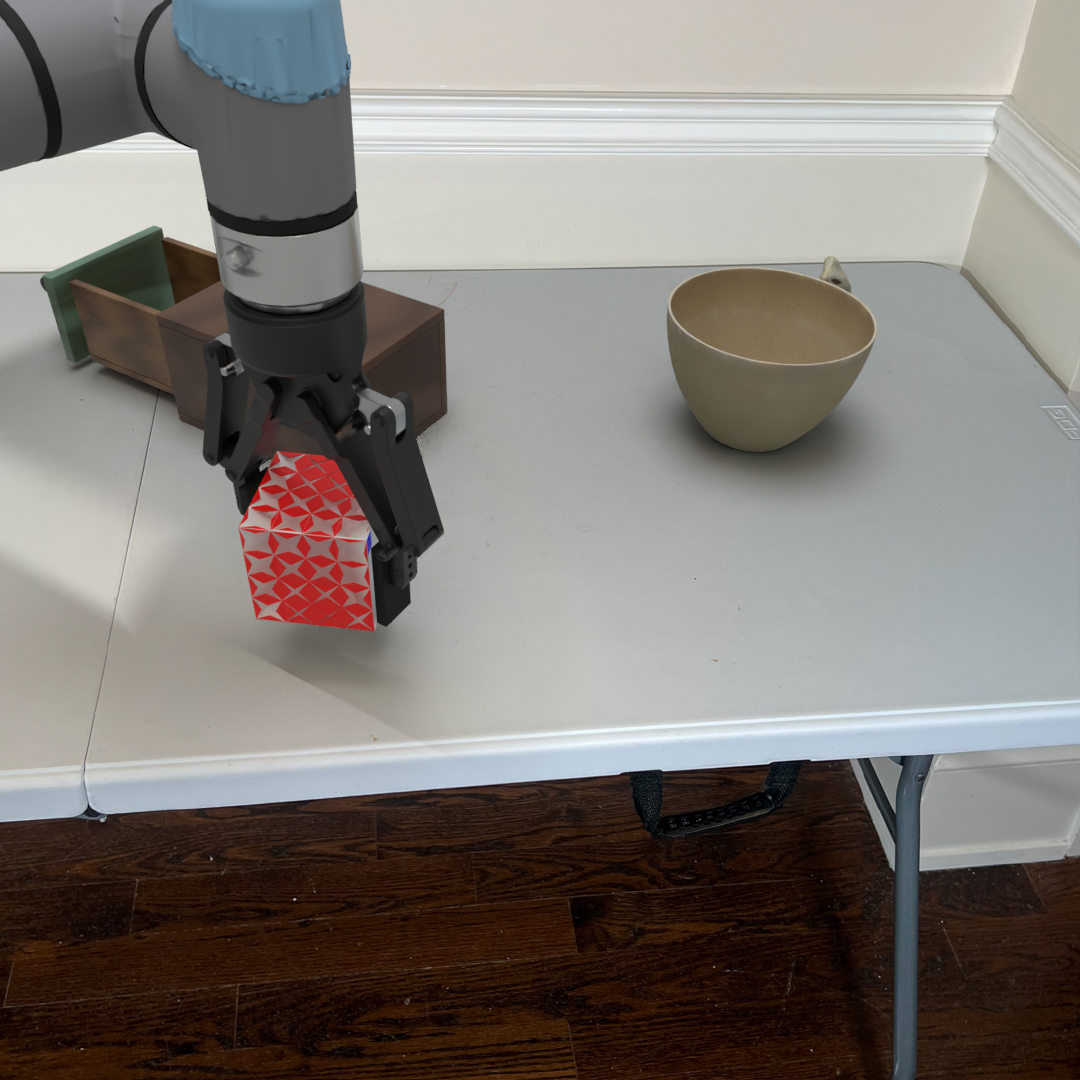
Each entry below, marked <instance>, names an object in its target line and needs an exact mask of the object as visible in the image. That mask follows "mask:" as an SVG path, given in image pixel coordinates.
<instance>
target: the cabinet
mask: <svg viewBox="0 0 1080 1080" xmlns="http://www.w3.org/2000/svg"><path fill="white" fill-rule="evenodd" d="M361 282H362V284H363V286H364V291H365V305H366V318H367V332H368V338H367V344H366V347H365V351H364V355H363V360H362V367H363V371H364V373H365V376H366V378H367V380H368V382H369V384H370V388H371V390H373V391H376V392H378V393H380V394H382V395H384V396H387V397H389V398H393V397H394V396H395V395H397V394H398V393H400V392H404V393H406V394H408V395H409V396H410V397H411V399H412V401H413V404H414V426H413V430H414V433H415V436H416V438H417V437H418V436H420V435H421V434H422V433H423V432H425V431H426V430H427V429H428V428H429V427H431V426H432V425H433V424H435V422H437V421H438V420H439V419H440V418H441V417H443V416H444V415H445V414H447V413H448V390H447V389H448V388H447V387H448V384H447V383H448V382H447V352H446V351H447V350H446V347H447V346H446V321H445V319H446V318H445V309H444V308H442V307H439V306H436V305H433V304H430V303H426V302H425V301H424V302H423V301H421V300H418V299H414V298H412V297H408V296H406V295H403V294H399V293H396V292H393V291H391V290H388V289H384V288H381V287H378V286H375V285H372V284H369V283H366V282H363V281H361ZM225 289H226V287H225V286H224V285H223V283H222V281H219V282H217V283H215V284H213V285H211V286H209V287H207V288H206V289H204V290H202V291H200V292H198V293H196V294H194V295H192V296H190V297H188V298H187V299H185V300H183V301H181V302H179V303H177V304H175V305H173V306H171V307H170V308H168V309H166V310H164V311H162V312H160V313H158V314H156V318H157V323H158V327H159V331H160V336H161V340H162V344H163V349H164V353H165V357H166V362H167V366H168V370H169V375H170V379H171V383H172V388H173V392H174V395H173V397H174V400H175V404H176V408H177V414H178V418H179V421H182V422H184V423H186V424H189V425H191V426H193V427H196V428H198V429H201V430H203V431H204V427H205V413H206V399H207V385H208V373H207V369H206V365H205V361H204V356H203V352H202V347H203V345H205V344H207V343H208V342H210V341H212V340H213V339H215V338H217V337H218V336H220V335H222V334H224V333H226V332H227V331H229V329H228V323H227V317H226V311H225V305H224V299H223V295H224V291H225ZM255 392H256V388H255V386H254V384H253V383H252V381H251V380H250V383H249V392H248V401H247V410H246V419H245V426H246V424H247V422H248V418H247V413H248V411H249V409H250V407H251V405H252V402H253V400H254V398H255V396H256V395H255ZM351 429H352V424H351V422H350V423H349V425H348V426H347V427H345V428H344V429H343V430H341V431H340V432H339V433H337V434H336V437H337V439H340V438H341V437H342V436H344V435H345V434H346V433H348V432H349V431H350V430H351ZM277 451H282V452H292V453H302V454H311V455H321V456H324V454H323V452H322V451H321V449H320V447H319V445H318V443H317V442H316V440H315V439H313V438H311V437H309V436H308V435H306V434H305V433H303V432H302V431H300V430H297V429H290V428H287V427H285V426H283V428H282V430H281V432H280V434H279V436H278V438H277V439H276V441H275V443H274V445H273V447H272V449H271V451H270V453H269V455H268V457H267V458H269V457H271V459H270V460H273V458H274V456H275V454H276V452H277Z"/></svg>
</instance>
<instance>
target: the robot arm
mask: <svg viewBox="0 0 1080 1080" xmlns="http://www.w3.org/2000/svg"><path fill="white" fill-rule="evenodd" d="M343 17H344V16H343V10H342V2H341V0H0V172H4V171H8V170H12V169H14V168H17V167H21V166H24V165H28V164H31V163H37V162H40V161H44V160H50V159H54V158H58V157H61V156H64V155H65V156H66V155H68V154H72V153H76V152H80V151H84V150H87V149H91V148H95V147H98V146H101V145H105V144H110V143H112V142H117V141H120V140H124V139H127V138H130V137H134V136H139V135H142V134H146V133H152V134H153V133H154V134H157V135H160V136H162V137H163V138H165V139H168V140H170V141H173V142H175V143H178V144H180V145H182V146H184V147H185V148H189V149H192V150H195V151H196V152H197V156H198V162H199V167H200V172H201V177H202V182H203V187H204V192H205V193H204V194H205V199H206V206H207V211H208V213H209V219H210V225H211V231H212V236H213V244H214V248H215V253H216V254H217V260H218V266H219V272H220V278H221V281H222V283H223V285H224V286H225V287H226V289H225V291H224V295H223V299H224V305H225V311H226V317H227V323H228V329H229V331H227V332H226V333H224V334H222V335H220V336H218V337H217V338H215V339H213V340H212V341H210V342H208V343H207V344H205V345H203V347H202V352H203V356H204V361H205V365H206V369H207V373H208V385H207V399H206V413H205V427H204V430H203V443H202V457H203V459H204V461H205V462H206V463H207V464H208V465H209V466H211V467H216V466H217V465H220V467H222V468H223V469H224V474H225V475H226V478H227V479H228V480H229V481H230V482H231V483H232V485H233V491H234V495H235V500H236V505H237V509H238V511H239V513H240V515H242V516H244V515H245V513H246V511H247V509H248V507H249V505H250V503H251V501H252V499H253V497H254V495H255V493H256V491H257V489H258V487H259V485H260V483H261V481H262V480H263V478H264V476H265V474H266V472H267V470H268V468H269V466H266V467H265V468H262V470H261V468H260V467H261V466H264V464H266V463H267V462H269V461H271V460H272V459H271V457H269V458H268V455H269V453H270V451H271V449H272V447H273V445H274V443H275V441H276V439H277V438H278V436H279V434H280V432H281V430H282V428H283V426H285V427H287V428H290V429H297V430H300V431H302V432H303V433H305V434H306V435H308V436H309V437H311V438H313V439H315V440H316V442H317V443H318V445H319V447H320V449H321V451H322V452H323V454H324V456H325V457H326V458H327V459H328V460H334V461H335V462H336V464H337V466H338V467H339V469H340V471H341V473H342V475H343V477H344V478H345V480H346V482H347V484H348V486H349V488H350V489H351V491H352V493H353V495H354V497H355V499H356V500H357V502H358V504H359V506H360V508H361V509H362V511H363V513H364V515H365V517H366V519H367V520H368V522H369V524H370V526H371V528H372V530H373V531H374V533H375V535H376V537H377V539H378V541H379V542H378V543H376V544H375V545H374V546H373V547H372V548H371V558H372V569H373V581H374V593H375V604H376V616H377V625H380V626H382V627H384V628H388V627H389V626H390V624H391V623H392V622H393V621H395V620H396V619H397V617H399V616H400V615H401V614H402V612H403V611H405V610H406V608H407V607H409V606H410V605H411V603H412V599H411V582H412V581H413V580H414V579H415V578H416V577H417V574H418V558H420V557H421V556H422V555H423V554H424V553H425V552H426V551H427V550H428V549H430V548H431V547H432V546H433V545H434V544H435V543H436V542H437V541H438V540H439V539H440V538H441V537H442V536H443V535H444V533H445V528H444V526H443V522H442V519H441V516H440V512H439V509H438V506H437V502H436V499H435V496H434V493H433V490H432V486H431V483H430V479H429V476H428V473H427V469H426V467H425V463H424V459H423V456H422V453H421V450H420V447H419V446H420V445H419V443H418V440H417V437H416V436H415V433H414V430H413V426H414V404H413V401H412V399H411V397H410V396H409V395H408V394H406V393H404V392H400V393H398V394H397V395H395V396H394V397H393V398H389V397H387V396H384V395H382V394H380V393H378V392H376V391H373V390H371V388H370V384H369V382H368V380H367V378H366V376H365V373H364V371H363V367H362V360H363V355H364V351H365V347H366V344H367V338H368V332H367V318H366V305H365V291H364V286H363V284H362V282H363V281H361V280H362V279H363V275H364V271H365V269H364V257H363V246H362V237H361V224H360V215H359V213H360V212H359V205H358V195H357V175H356V160H355V142H354V128H353V114H352V98H351V97H352V96H351V95H352V94H351V83H350V79H351V72H352V71H351V69H352V58H351V54H349V52H348V44H347V39H346V32H345V26H344V18H343ZM250 380H251V381H252V383H253V384H254V386H255V388H256V392H255V395H256V396H255V398H254V400H253V402H252V405H251V407H250V409H249V411H248V413H247V418H248V422H247V424H246V426H245V419H246V410H247V401H248V392H249V383H250ZM350 422H351V424H352V429H351V430H350V431H349V432H348V433H346V434H345V435H344V436H342V437H341V438H340V439H337V437H336V434H337V433H339V432H340V431H341V430H343V429H344V428H345V427H347V426H348V425H349V423H350Z"/></svg>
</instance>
